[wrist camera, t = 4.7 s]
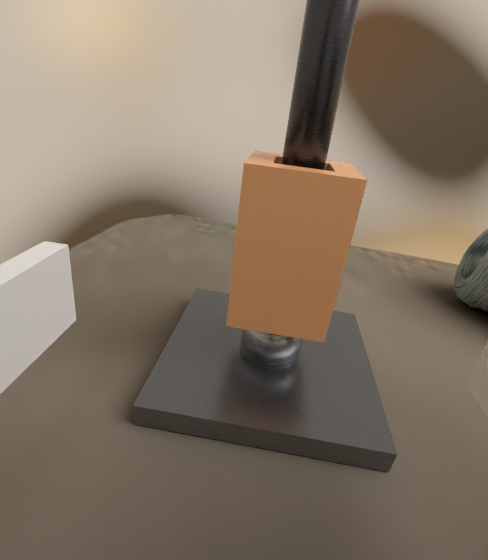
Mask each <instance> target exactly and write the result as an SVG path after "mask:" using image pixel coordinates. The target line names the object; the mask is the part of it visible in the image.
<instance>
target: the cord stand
mask: <svg viewBox="0 0 488 560" xmlns="http://www.w3.org/2000/svg"><path fill="white" fill-rule="evenodd" d="M358 4H359V0H307V3H306V10H305V16H304V23H303V29H302V36H301V43H300V49H299V55H298V62H297V68H296V75H295V82H294V88H293V94H292V101H291V107H290V113H289V120H288V126H287V133H286V139H285V146H284V152H283V158H282V164H283V165H291V166H298V167H305V168H313V169H320V170H324V168H325V163H326V158H327V154H328V149H329V144H330V139H331V134H332V130H333V124H334V120H335V114H336V110H337V105H338V100H339V96H340V91H341V85H342V81H343V76H344V72H345V67H346V62H347V57H348V52H349V47H350V43H351V38H352V33H353V28H354V23H355V19H356V13H357V9H358ZM229 295H230V294H226V293H219V292H213V291H207V290H201V289H196V291H195V293H194V294H193V296H192V298H191V300H190V302H189V304H188V305H187V307H186V309H185V311H184V313H183V315H182V316H181V318H180V320H179V322H178V324H177V326H176V327H175V329H174V331H173V333H172V335H171V337H170V338H169V340H168V342H167V344H166V346H165V348H164V349H163V351H162V353H161V355H160V357H159V359H158V360H157V362H156V364H155V366H154V368H153V370H152V371H151V373H150V375H149V377H148V379H147V381H146V382H145V384H144V386H143V388H142V390H141V392H140V393H139V395H138V397H137V399H136V401H135V403H134V404H133V424H135V425H141V426H146V427H151V428H157V429H162V430H167V431H172V432H178V433H183V434H188V435H194V436H199V437H204V438H210V439H215V440H220V441H225V442H231V443H236V444H241V445H247V446H252V447H257V448H263V449H268V450H273V451H279V452H284V453H289V454H294V455H300V456H305V457H310V458H316V459H321V460H326V461H332V462H337V463H342V464H347V465H353V466H358V467H363V468H369V469H374V470H379V471H385V472H389V471H390V469H391V466H392V464H393V462H394V460H395V458H396V455H397V453H396V450H395V447H394V443H393V440H392V437H391V433H390V430H389V427H388V423H387V420H386V417H385V414H384V410H383V407H382V404H381V400H380V397H379V394H378V390H377V387H376V384H375V380H374V377H373V374H372V370H371V367H370V364H369V361H368V357H367V354H366V351H365V347H364V344H363V341H362V337H361V334H360V331H359V327H358V324H357V321H356V318H355V314H349V313H343V312H337V311H333V312H332V316H331V320H330V324H329V327H328V331H327V335H326V339H325V343H324V342H318V341H312V340H306V339H300V338H294V337H288V336H282V335H276V334H270V333H264V332H258V331H252V330H246V329H240V328H234V327H228V326H226V322H227V313H228V304H229Z"/></svg>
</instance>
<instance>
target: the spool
mask: <svg viewBox="0 0 488 560" xmlns="http://www.w3.org/2000/svg"><path fill="white" fill-rule="evenodd" d="M455 293H456V295H457V297H458V298H459V299H460V300H462V301H463V302H464V303H466V304H467V305H469V306H470V307H472V308H480V309H482V310H484V311H486V312H488V229H487V230H486V231H484V232H483V233H482V234H481V235H480V236H479V237H478V238H477V239H476V240H475V241H474V242H473V243H472V244H471V245H470V246H469V248H468V250H467V251H466V252H465V254H464V256H463V258H462V260H461V262H460V264H459V266H458V268H457V270H456V274H455Z"/></svg>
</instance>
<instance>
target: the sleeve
mask: <svg viewBox="0 0 488 560" xmlns="http://www.w3.org/2000/svg"><path fill="white" fill-rule="evenodd" d="M282 158H283V154H275V153H268V152H260V151H255V152H254V153H253V154H252V155H251V156H250V157H249V158H248V159H247V160H246V162H245V163H244V168H243V177H242V187H241V195H240V204H239V213H238V223H237V231H236V241H235V250H234V259H233V268H232V277H231V286H230V295H229V304H228V313H227V322H226V326H228V327H234V328H240V329H246V330H252V331H258V332H264V333H270V334H276V335H282V336H288V337H294V338H300V339H306V340H312V341H318V342H324V343H325V339H326V335H327V331H328V327H329V324H330V320H331V316H332V312H333V308H334V305H335V301H336V297H337V293H338V289H339V286H340V282H341V278H342V274H343V270H344V267H345V263H346V259H347V255H348V251H349V248H350V244H351V240H352V236H353V232H354V228H355V224H356V220H357V217H358V213H359V209H360V205H361V202H362V198H363V194H364V190H365V187H366V183H367V179H365V177H363V176H362V175H361V174H360V173H359V172H358V171H357V170H356V169H355V168H354V167H353V166H352V165H350V164H349V163H342V162H334V161H327V160H326V163H325V168H324V170H320V169H313V168H305V167H298V166H291V165H283V164H282Z"/></svg>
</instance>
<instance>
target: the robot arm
mask: <svg viewBox="0 0 488 560" xmlns="http://www.w3.org/2000/svg"><path fill="white" fill-rule="evenodd" d="M75 321H76V312H75V303H74V293H73V284H72V275H71V266H70V257H69V248H68V245H66V244H59V243H52V242H46V241H44V242H42V243H40V244H38V245H36V246H35V247H33V248H31V249H29V250H27V251H25V252H23V253H22V254H19V255H18V256H16V257H14V258H12V259H10V260H8V261H6V262H4V263H2V264H0V394H1V393H2V392H3V391H4V390H5V389H6V388H7V387H8V386H9V385H10V384H11V383H12V382H13V381H14V380H15V379H16V378H17V377H18V376H19V375H20V374H21V373H22V372H23V371H24V370H25V369H26V368H28V367H29V366H30V365H31V364H32V363H33V362H34V361H35V360H36V359H37V358H38V357H39V356H40V355H41V354H42V353H43V352H44V351H45V350H46V349H47V348H48V347H49V346H50V345H51V344H52V343H53V342H54V341H55V340H56V339H57V338H58V337H59V336H60V335H61V334H62V333H63V332H64V331H65V330H66V329H68V328H69V327H70V326H71V325H72V324H73V323H74V322H75ZM466 385H467V387H468V388H469V390H470V391H471V393H472V394H473V396H474V397H475V399H476V400H477V402H478V403H479V405H480V407H481V408H482V410H483V411H484V413H485V414H486V416H487V417H488V341H487V343H486V345H485V347H484V349H483V351H482V353H481V355H480V357H479V359H478V361H477V363H476V365H475V367H474V369H473V371H472V373H471V375H470V377H469V379H468V381H467V383H466Z"/></svg>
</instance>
